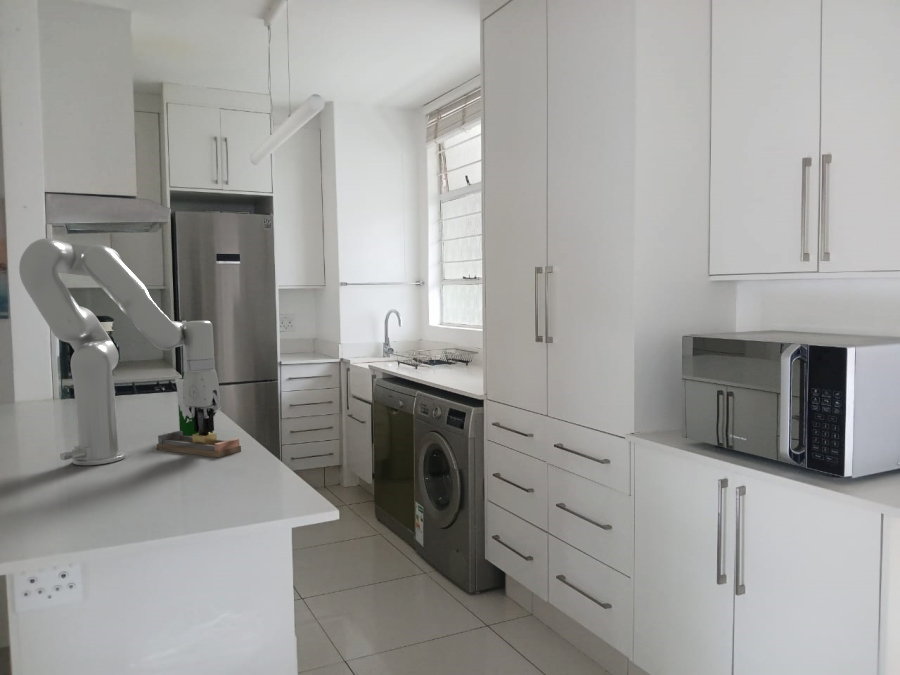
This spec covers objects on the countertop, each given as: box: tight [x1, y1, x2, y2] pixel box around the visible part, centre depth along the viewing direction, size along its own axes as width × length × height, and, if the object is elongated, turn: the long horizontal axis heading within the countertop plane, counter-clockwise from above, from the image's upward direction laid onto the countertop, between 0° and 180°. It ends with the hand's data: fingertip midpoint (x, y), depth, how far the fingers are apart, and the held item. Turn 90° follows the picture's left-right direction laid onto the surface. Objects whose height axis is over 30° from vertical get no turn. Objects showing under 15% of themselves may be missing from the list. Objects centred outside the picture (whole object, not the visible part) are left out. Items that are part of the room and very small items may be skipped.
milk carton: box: [174, 370, 214, 436], centre depth 212 cm, size 9×9×20 cm
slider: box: [192, 408, 217, 445], centre depth 192 cm, size 4×5×10 cm
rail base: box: [155, 430, 242, 458], centre depth 194 cm, size 8×25×4 cm, turn 60°
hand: (204, 430), depth 192 cm, fingers closed on slider, 3 cm apart
